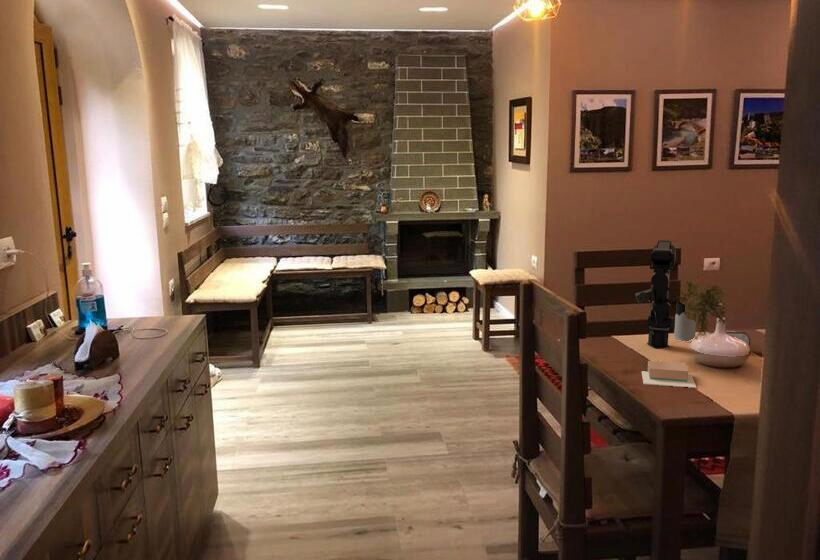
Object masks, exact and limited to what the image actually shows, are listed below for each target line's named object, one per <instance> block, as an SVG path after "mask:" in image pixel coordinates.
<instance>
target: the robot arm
mask: <svg viewBox="0 0 820 560" xmlns="http://www.w3.org/2000/svg"><path fill="white" fill-rule="evenodd" d="M652 250H653V251H652V252H651V253H650V261H649V263H650V264H649V270H653V271H652V276H651V278H650V282H651V285H650V288H649V289H646V290H641V291H639V292H635V298H636V301H637V304H642V303H644V302H646V301H648V302H649V303H651V304H650V305H649V306H650V315H648V319H647V332H649V333H648V340H647V343H646V345H648V346H650V347H652V348H653V349H663V348H664V349H665V348H666V349H667V348H671V346H670V345H669V333H670V334H671V333H673V332H674V331H673V330H674V329H673V327H674V325H673V324H674V321H673V319H672V317H671V316H670V315H671V313H670V312H671V311H672V310H671V309H672V306H671V303H669V301H670V299H669V293H670V292H669V291H670V272H671V271H673V268H675V264H676V263H675V262H676V258H677V257H676V256H677V255H676V254H677V253H676V252H677V248H676V247H675V246H674V245H673V244H672V241H671V240H665V239H661V240H660V239H659V240H657V244H656V245H654V246H653V249H652Z"/></svg>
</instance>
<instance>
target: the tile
mask: <svg viewBox="0 0 820 560" xmlns="http://www.w3.org/2000/svg"><path fill="white" fill-rule="evenodd" d="M647 372H648V374H649V378H650V379H660V380H673V381H687V380H688V375H689V369H688V367H687V363H686V362H685V363H684V362H671V361H659V360H658V361H657V360H648V361H647Z"/></svg>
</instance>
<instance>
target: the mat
mask: <svg viewBox="0 0 820 560" xmlns="http://www.w3.org/2000/svg"><path fill="white" fill-rule="evenodd" d="M641 376H642V383H643V385H644V386H657V385H658V386H659V387H670V386H673V387H675V388H683V387H688V388H687V389H697V386H696V383H695V380H694V378H693V375H692V374H688V380H687V381H673V380H660V379H650V378H649V374H648V371H647V370H646V371H645V370H644V371H643V370H642V371H641ZM673 387H672V388H673Z"/></svg>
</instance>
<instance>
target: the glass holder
mask: <svg viewBox="0 0 820 560" xmlns="http://www.w3.org/2000/svg"><path fill="white" fill-rule="evenodd" d="M680 301H681V300H679V301H676V309H675V311H676V312H675V318H674V331H673V332H674V334H673V337H672V339H673V338H674V339H676V340H675V341H677V340H681V341H680V342H682V341H689V340H691V339H693V338H694V337H695V338H696V329H697V321H696V322H695V321H694V320H690V319H688V318H686V316H685V314H684V312H685V305H684V304H682V303H680ZM674 339H673V340H674Z"/></svg>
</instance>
